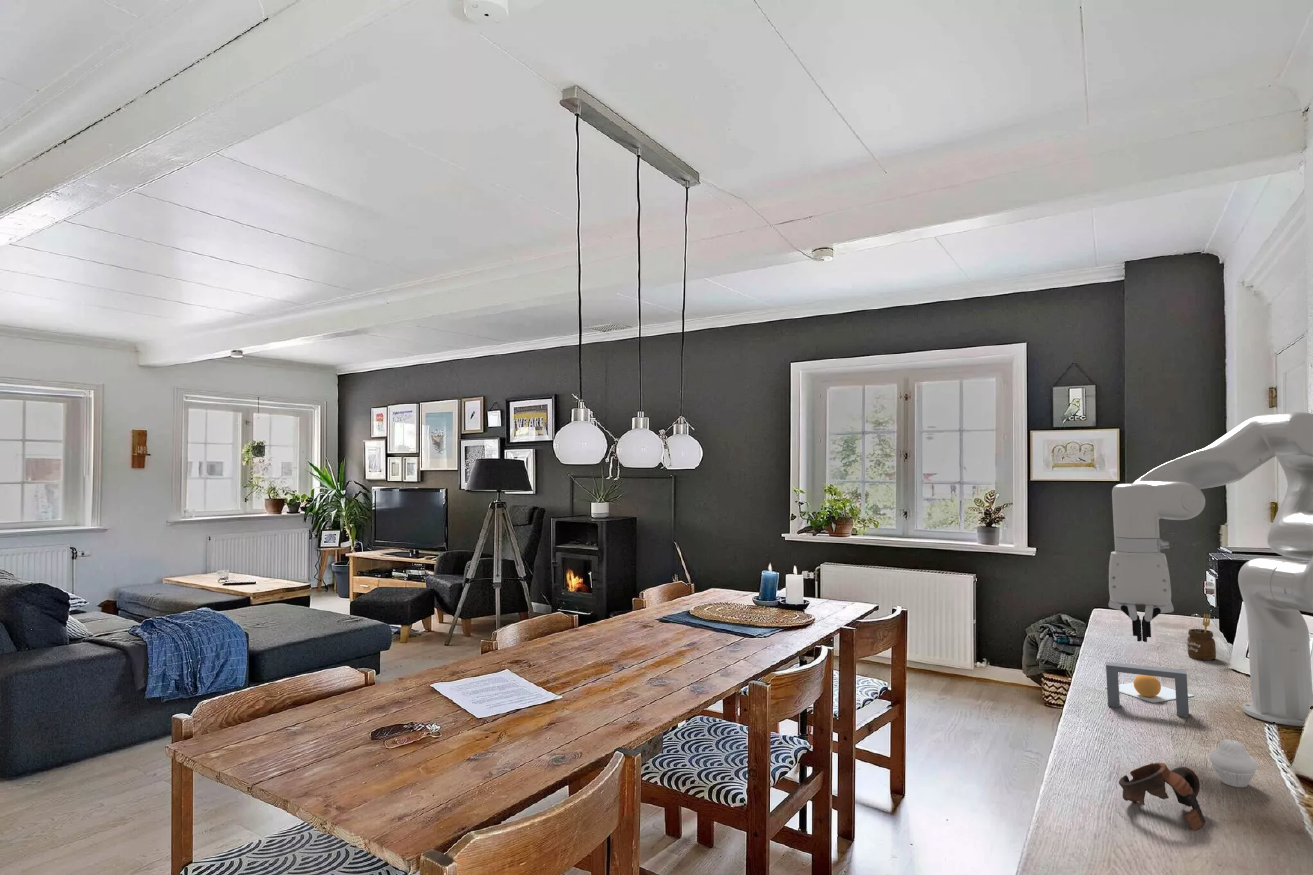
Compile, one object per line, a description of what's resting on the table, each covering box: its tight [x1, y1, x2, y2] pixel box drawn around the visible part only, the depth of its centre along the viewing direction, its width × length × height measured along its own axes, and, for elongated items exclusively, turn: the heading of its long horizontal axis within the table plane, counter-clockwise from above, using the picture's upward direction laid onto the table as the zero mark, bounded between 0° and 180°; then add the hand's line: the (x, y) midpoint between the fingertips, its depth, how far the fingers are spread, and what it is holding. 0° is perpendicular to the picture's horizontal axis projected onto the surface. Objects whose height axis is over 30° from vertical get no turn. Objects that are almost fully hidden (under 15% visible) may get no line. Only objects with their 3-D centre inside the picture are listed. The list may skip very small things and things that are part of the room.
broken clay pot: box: [1118, 762, 1206, 832], centre depth 109 cm, size 12×10×8 cm
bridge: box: [1105, 661, 1190, 718], centre depth 153 cm, size 3×14×9 cm, turn 56°
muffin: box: [1208, 738, 1258, 788], centre depth 118 cm, size 6×6×7 cm
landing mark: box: [1104, 681, 1195, 704], centre depth 165 cm, size 12×12×1 cm
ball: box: [1133, 674, 1162, 697], centre depth 162 cm, size 5×5×5 cm
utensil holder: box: [1186, 613, 1217, 661], centre depth 191 cm, size 6×6×12 cm
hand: (1142, 640), depth 143 cm, fingers closed
